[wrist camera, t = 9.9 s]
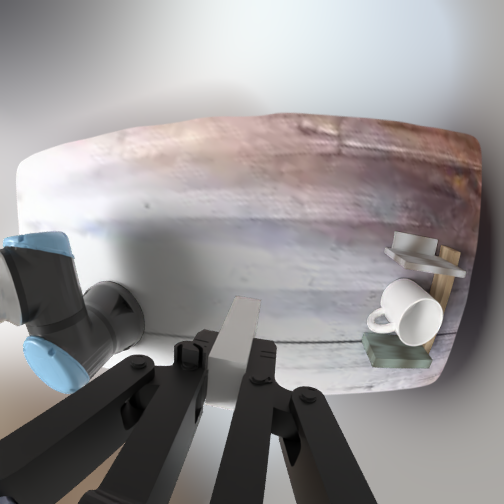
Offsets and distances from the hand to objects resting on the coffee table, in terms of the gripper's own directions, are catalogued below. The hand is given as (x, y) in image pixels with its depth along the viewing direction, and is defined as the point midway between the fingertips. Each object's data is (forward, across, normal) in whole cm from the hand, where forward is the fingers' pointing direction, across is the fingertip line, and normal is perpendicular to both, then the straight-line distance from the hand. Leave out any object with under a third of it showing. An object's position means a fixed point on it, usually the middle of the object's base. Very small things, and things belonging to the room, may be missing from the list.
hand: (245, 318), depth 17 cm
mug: (+32, +24, -9) cm, 41 cm away
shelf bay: (+32, +26, -8) cm, 42 cm away
